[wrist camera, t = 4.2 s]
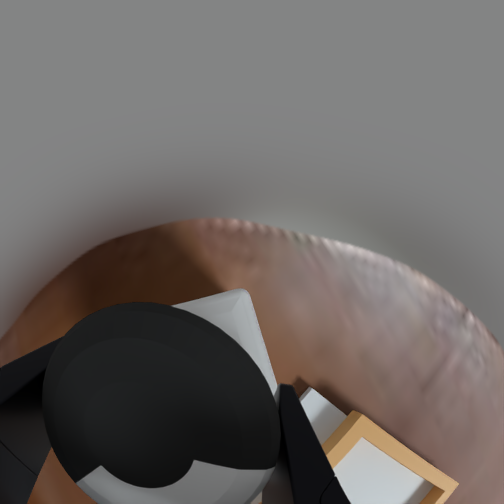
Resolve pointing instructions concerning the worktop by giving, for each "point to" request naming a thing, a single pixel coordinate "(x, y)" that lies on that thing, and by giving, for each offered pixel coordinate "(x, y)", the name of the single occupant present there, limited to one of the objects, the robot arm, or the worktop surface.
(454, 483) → the plate with orange frame
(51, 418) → the medicine bottle
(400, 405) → the worktop surface
